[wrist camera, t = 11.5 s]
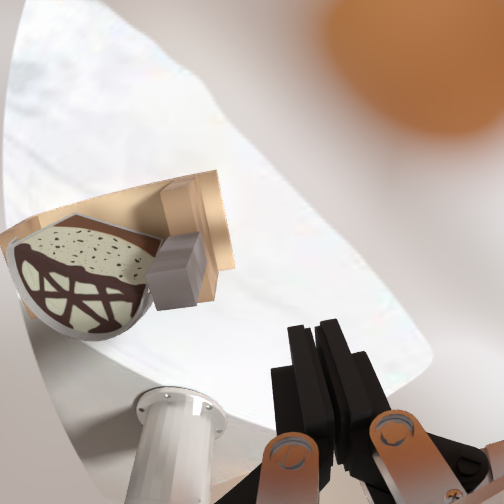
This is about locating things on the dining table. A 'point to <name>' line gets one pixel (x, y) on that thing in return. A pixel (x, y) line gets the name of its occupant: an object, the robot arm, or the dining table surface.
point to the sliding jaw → (184, 250)
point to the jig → (138, 216)
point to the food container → (84, 275)
